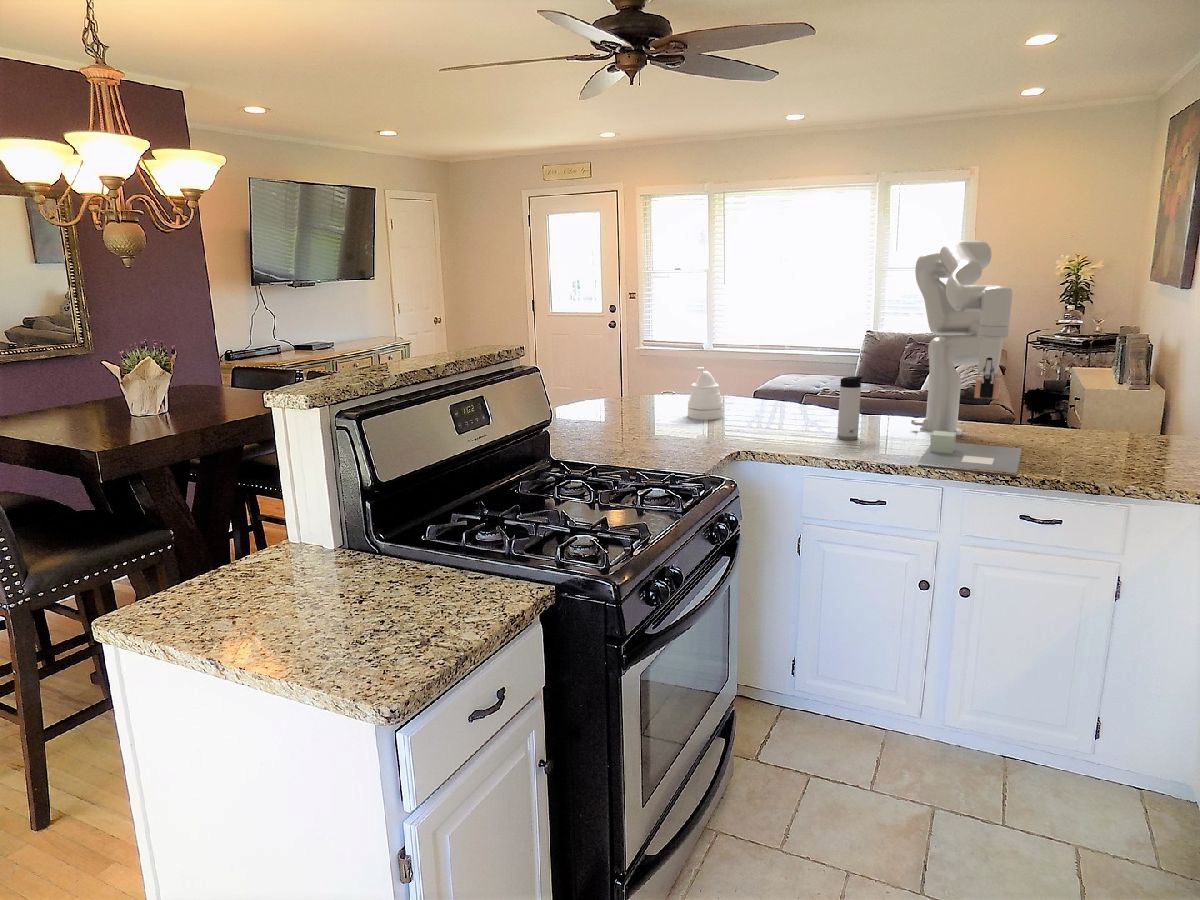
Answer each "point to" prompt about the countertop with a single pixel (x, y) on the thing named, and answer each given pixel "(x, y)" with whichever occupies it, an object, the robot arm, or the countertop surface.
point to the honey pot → (705, 398)
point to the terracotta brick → (995, 390)
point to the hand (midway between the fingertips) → (986, 395)
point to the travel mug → (849, 408)
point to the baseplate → (975, 459)
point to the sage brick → (943, 442)
